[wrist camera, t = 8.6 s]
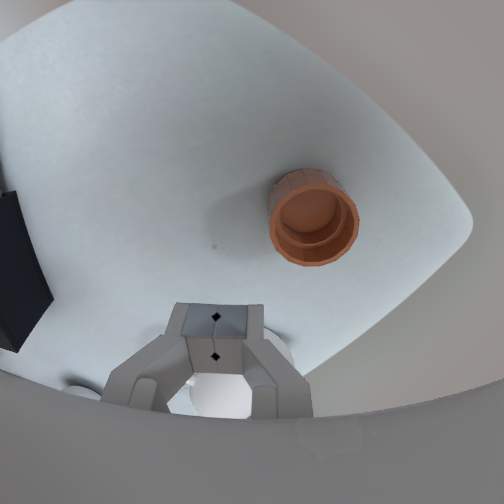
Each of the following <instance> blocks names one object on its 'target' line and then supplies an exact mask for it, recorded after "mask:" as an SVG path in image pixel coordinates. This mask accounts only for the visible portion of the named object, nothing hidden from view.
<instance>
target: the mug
mask: <svg viewBox="0 0 504 504" xmlns="http://www.w3.org/2000/svg"><path fill="white" fill-rule="evenodd" d="M264 339H269V341H270V342H271V343H272V344H273V345H274V346H275V347H276V348H277V349H278V351H279V352H280V353H281V354H282V355H283V356H284V357H285V358H286V359H287V360H288V361H289V363H290V364H291V365H292V366H293V367H294V360H293V357H292V354H291V352H290V350H289V349H288V347H287V346H286V344H285V343H284V342H283V341H282V340H281V339H280V338H279V337H278V336H277V335H276V334H274V333H273V332H271V331H270V330H268V329H266V328H264ZM294 368H295V367H294ZM186 384H188V385H190V398H191V401H192V404H193V406H194V407H195V409H196V410H197V411H198V413H199V414H200V415H201V416H203V417H215V418H234V419H246V418H247V417H249V416H250V415H251V406H252V389H251V388H250V386H249V385H248V383H247V382H246V380H245V378H244V377H243V375H236V374H220V373H197V374H193V375H192V376H191V377H190V378H189V380H188V381H187V382H186Z"/></svg>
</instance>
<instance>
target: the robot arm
mask: <svg viewBox="0 0 504 504" xmlns="http://www.w3.org/2000/svg"><path fill="white" fill-rule="evenodd" d="M193 372H195V373H220V374H236V375H243V377H244V378H245V380H246V382H247V383H248V385H249V386H250V388H251V389H252V406H251V419H234V418H215V417H202V416H191V415H181V414H173V413H171V412H170V410H169V408H168V406H167V402H168V401H169V400H170V399H171V398H172V397H173V396H174V395H175V394H176V393H177V392H178V391H179V389H180V388H181V387H182V386H183V385H184V384H185V383H186V382H187V381H188V380H189V378H190V377H191V376H192V375H193V374H194V373H193ZM0 504H504V378H503V379H500V380H498V381H495V382H492V383H489V384H486V385H483V386H480V387H477V388H474V389H470V390H467V391H464V392H460V393H457V394H453V395H450V396H446V397H442V398H438V399H434V400H430V401H425V402H421V403H416V404H412V405H407V406H402V407H396V408H390V409H385V410H378V411H372V412H364V413H356V414H348V415H338V416H328V417H314V418H313V410H312V401H311V393H310V385H309V383H308V382H307V381H306V380H305V379H304V378H303V377H302V376H301V375H300V373H299V372H298V371H297V370H296V369H295V368H294V367H293V366H292V365H291V364H290V363H289V361H288V360H287V359H286V358H285V357H284V356H283V355H282V354H281V353H280V352H279V351H278V349H277V348H276V347H275V346H274V345H273V344H272V343H271V342H270V341H269V339H264V306H263V304H257V305H219V304H200V303H179V302H177V303H176V304H175V305H174V308H173V311H172V314H171V317H170V320H169V322H168V325H167V328H166V331H165V334H164V335H159V336H158V337H157V338H155V339H154V340H153V341H151V342H150V343H149V344H147V345H146V346H145V347H143V348H142V349H141V350H139V351H138V352H137V353H135V354H134V355H133V356H131V357H130V358H129V359H127V360H126V361H125V362H123V363H122V364H121V365H119V366H118V367H117V368H115V369H114V370H113V371H111V374H110V376H109V378H108V381H107V383H106V386H105V388H104V391H103V393H102V396H101V399H100V401H99V400H95V399H90V398H86V397H82V396H79V395H75V394H71V393H68V392H64V391H61V390H57V389H54V388H51V387H48V386H44V385H41V384H38V383H35V382H32V381H30V380H27V379H24V378H21V377H19V376H16V375H13V374H11V373H8V372H6V371H3V370H1V369H0Z"/></svg>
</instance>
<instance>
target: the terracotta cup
mask: <svg viewBox="0 0 504 504" xmlns="http://www.w3.org/2000/svg"><path fill="white" fill-rule="evenodd" d="M268 216H269V233H270V238H271V240H272V242H273V244H274V247H275V249H276V250H277V252H279V253H280V254H281V255H282V256H283V257H284V258H285V259H287V260H288V261H290V262H292V263H295V264H298V265H301V266H322V265H325V264H328V263H331V262H334V261H336V260H337V259H339V258H340V257H341V256H342V255H344V254H345V253H346V252H347V251H348V250H349V249H350V248H351V246H352V244H353V243H354V241H355V239H356V237H357V235H358V228H359V221H360V219H359V216H358V212H357V209H356V205H355V203H354V202H353V201H352V200H351V198H350V197H349V196H348V194H347V193H346V192H345V190H344V189H343V188H342V187H341V185H340V184H339V183H338V182H337V181H336V180H335V179H334V178H333V176H331V175H329V174H327V173H325V172H323V171H321V170H317V169H299V170H297V171H294V172H292V173H289V174H287V175H285V176H284V177H283V178H282V179H281V180H280V181H279V182H278V183H277V184H276V185H275V186H274V188H273V190H272V192H271V194H270V197H269V200H268Z"/></svg>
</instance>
